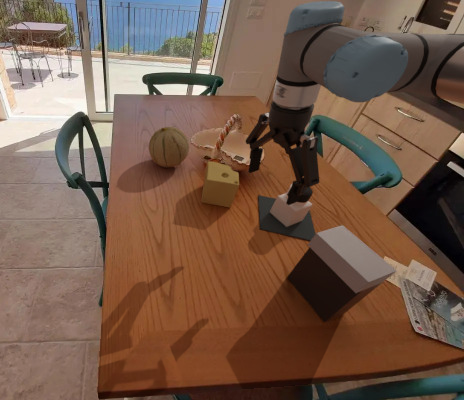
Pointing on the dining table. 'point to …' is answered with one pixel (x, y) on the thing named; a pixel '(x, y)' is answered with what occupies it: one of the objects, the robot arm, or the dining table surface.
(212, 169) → the cheese
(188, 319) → the dining table surface
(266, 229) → the mat
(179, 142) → the cantaloupe
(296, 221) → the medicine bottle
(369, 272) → the lidded grey box
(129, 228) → the dining table surface
